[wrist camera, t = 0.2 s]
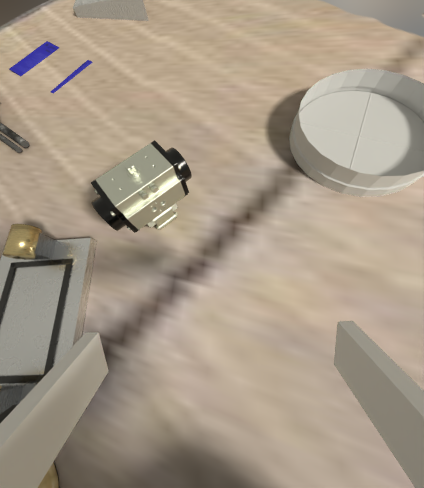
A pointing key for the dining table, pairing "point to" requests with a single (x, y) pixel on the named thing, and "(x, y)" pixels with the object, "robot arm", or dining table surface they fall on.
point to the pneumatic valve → (143, 189)
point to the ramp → (111, 9)
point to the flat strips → (38, 57)
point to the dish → (361, 132)
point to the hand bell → (50, 479)
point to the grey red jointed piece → (13, 136)
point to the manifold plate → (39, 306)
